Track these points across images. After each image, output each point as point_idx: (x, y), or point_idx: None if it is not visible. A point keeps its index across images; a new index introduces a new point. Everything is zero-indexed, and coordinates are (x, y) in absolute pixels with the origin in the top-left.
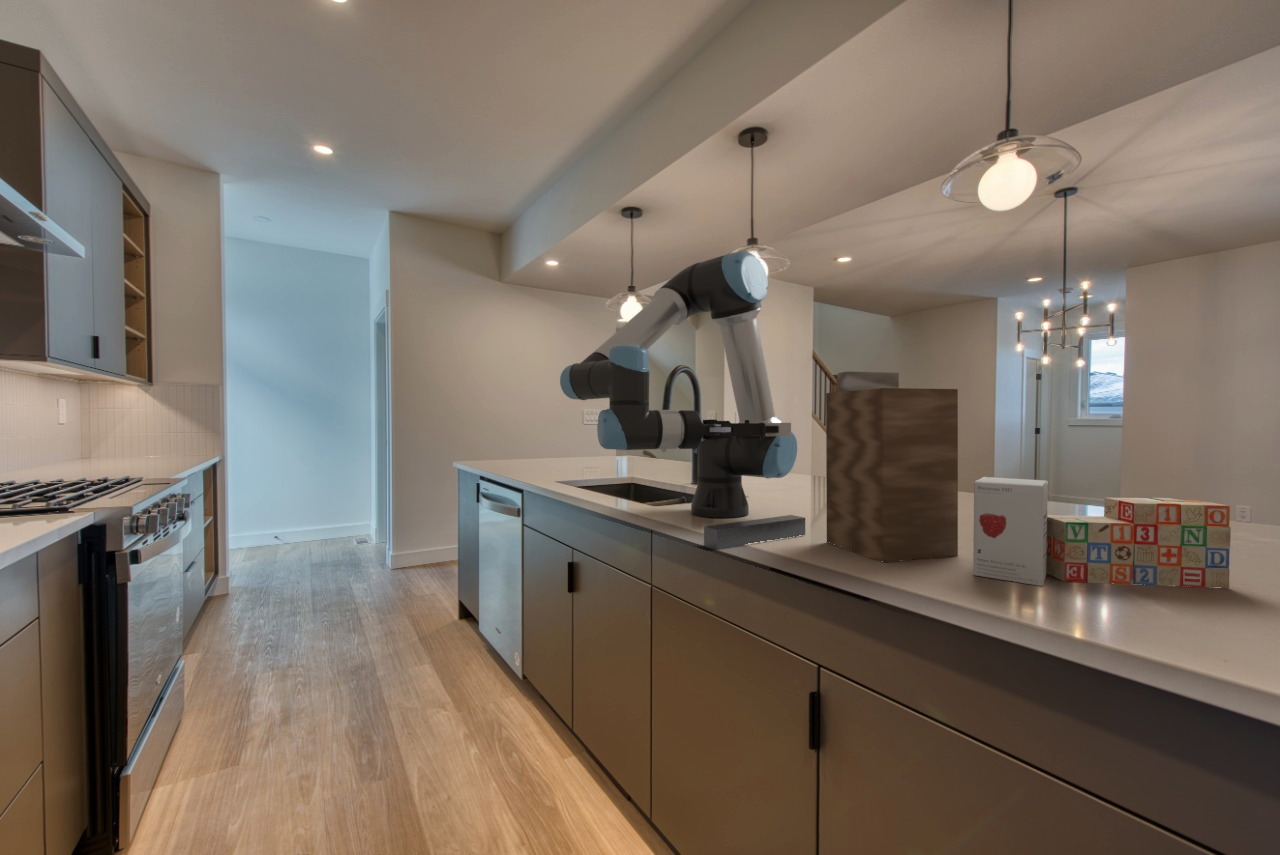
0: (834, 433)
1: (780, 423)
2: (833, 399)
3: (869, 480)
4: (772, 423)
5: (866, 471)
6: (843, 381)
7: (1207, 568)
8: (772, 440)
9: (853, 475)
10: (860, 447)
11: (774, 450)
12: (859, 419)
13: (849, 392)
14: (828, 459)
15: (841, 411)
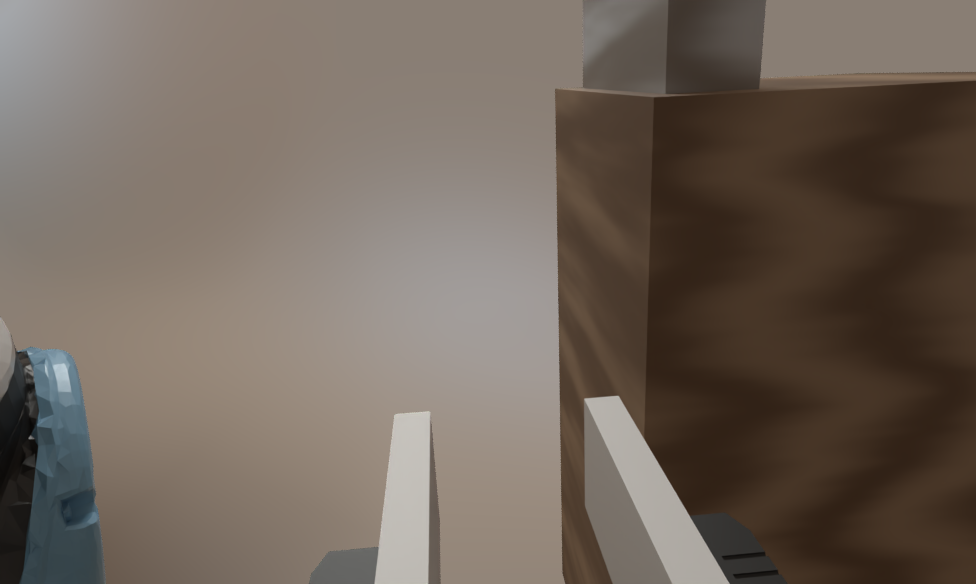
0: (726, 354)
1: (653, 462)
2: (732, 142)
3: (974, 540)
4: (690, 525)
5: (962, 506)
6: (725, 16)
7: None
8: (20, 485)
9: (864, 539)
10: (938, 403)
11: (84, 552)
12: (957, 258)
13: (895, 94)
14: None
15: (804, 218)
